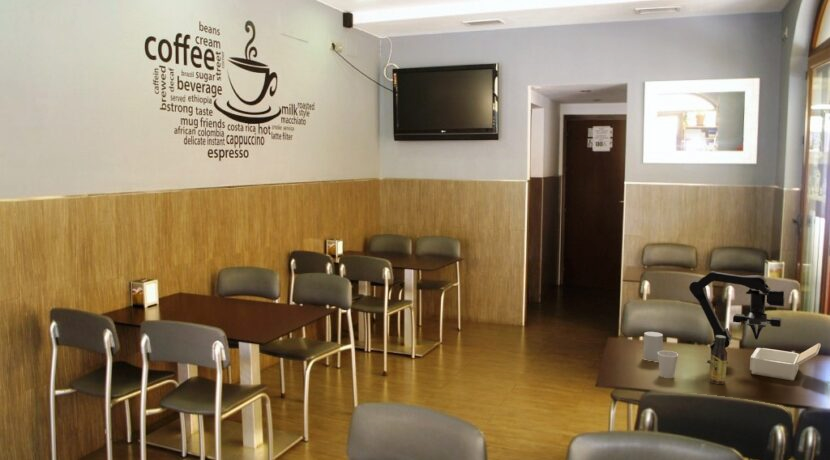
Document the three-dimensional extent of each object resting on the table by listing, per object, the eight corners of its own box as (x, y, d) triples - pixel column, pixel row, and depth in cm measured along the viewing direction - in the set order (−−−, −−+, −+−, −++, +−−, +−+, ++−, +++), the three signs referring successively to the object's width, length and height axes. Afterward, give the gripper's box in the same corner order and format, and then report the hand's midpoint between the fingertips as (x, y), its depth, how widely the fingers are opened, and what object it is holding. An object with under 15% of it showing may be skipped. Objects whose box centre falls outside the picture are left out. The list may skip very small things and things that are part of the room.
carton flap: (815, 352, 280) (817, 354, 280) (819, 342, 294) (820, 344, 293) (796, 363, 284) (797, 365, 284) (800, 353, 298) (802, 355, 298)
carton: (749, 373, 294) (750, 357, 293) (756, 362, 310) (757, 347, 309) (793, 381, 284) (794, 364, 284) (798, 368, 300) (799, 353, 300)
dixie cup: (667, 380, 285) (668, 357, 284) (652, 374, 293) (653, 352, 291) (681, 377, 289) (682, 354, 288) (666, 371, 296) (667, 349, 295)
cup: (661, 357, 317) (662, 332, 315) (661, 362, 309) (663, 337, 308) (643, 356, 319) (644, 331, 318) (643, 361, 312) (644, 335, 310)
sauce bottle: (706, 380, 286) (708, 333, 283) (720, 379, 286) (722, 333, 284) (714, 385, 279) (716, 338, 277) (728, 385, 280) (731, 337, 277)
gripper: (731, 305, 297) (730, 340, 298) (779, 310, 286) (778, 346, 288) (735, 301, 306) (734, 335, 307) (782, 305, 296) (781, 340, 297)
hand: (756, 339), depth 300 cm, fingers closed
